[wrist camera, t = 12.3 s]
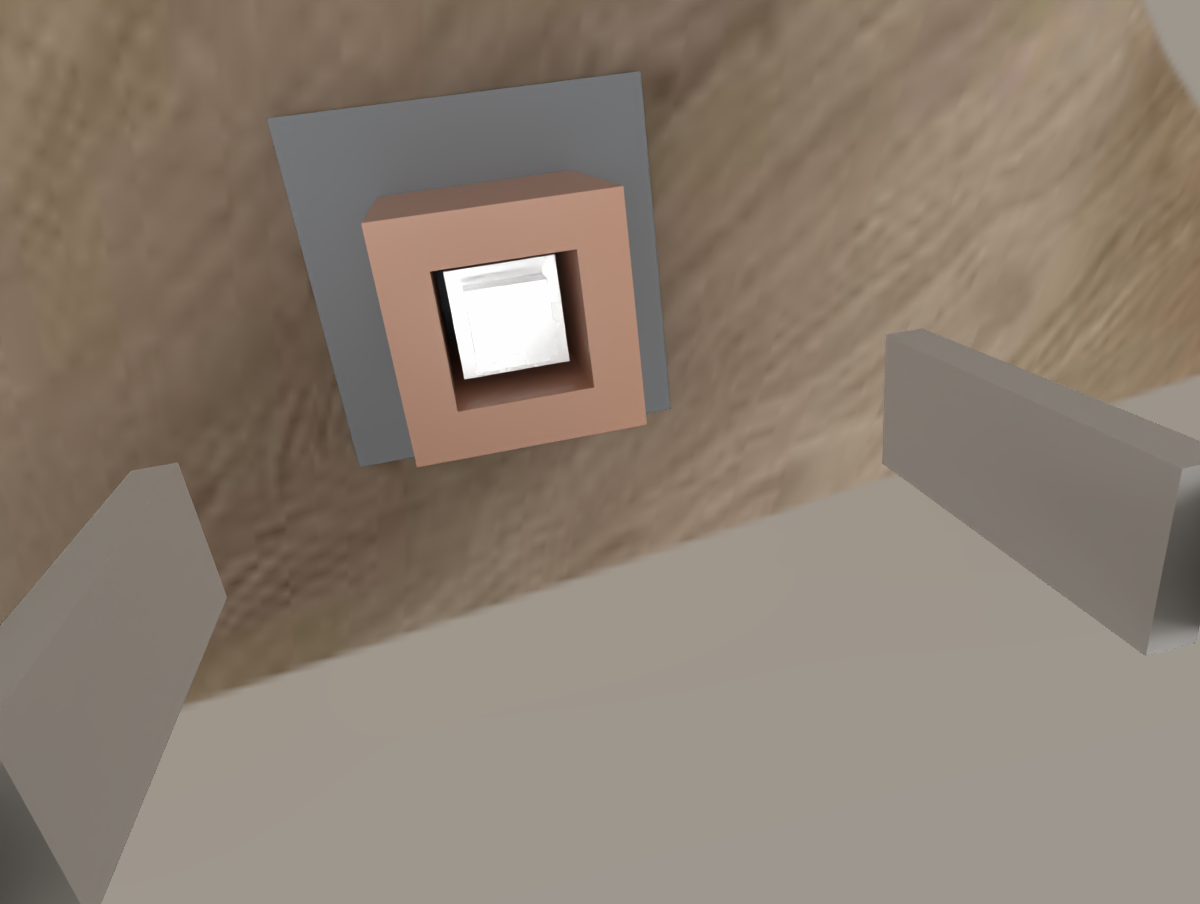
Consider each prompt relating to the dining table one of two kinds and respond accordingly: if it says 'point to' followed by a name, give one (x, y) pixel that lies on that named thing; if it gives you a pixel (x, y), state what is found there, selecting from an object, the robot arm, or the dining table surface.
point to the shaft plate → (445, 159)
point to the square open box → (494, 233)
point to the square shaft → (507, 315)
